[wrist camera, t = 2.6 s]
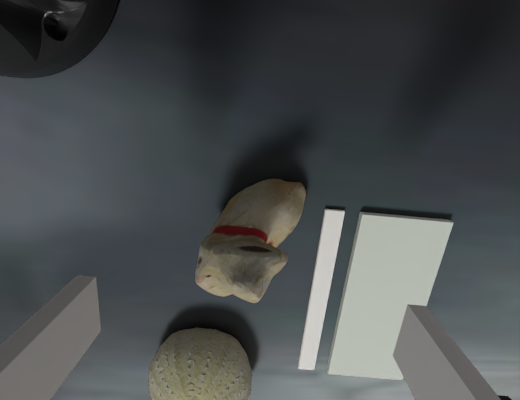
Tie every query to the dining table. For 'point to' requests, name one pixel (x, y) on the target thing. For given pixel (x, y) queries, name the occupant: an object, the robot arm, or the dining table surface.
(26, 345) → the robot arm
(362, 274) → the mat
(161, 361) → the sea urchin shell
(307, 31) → the dining table surface
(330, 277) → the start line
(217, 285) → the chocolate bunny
